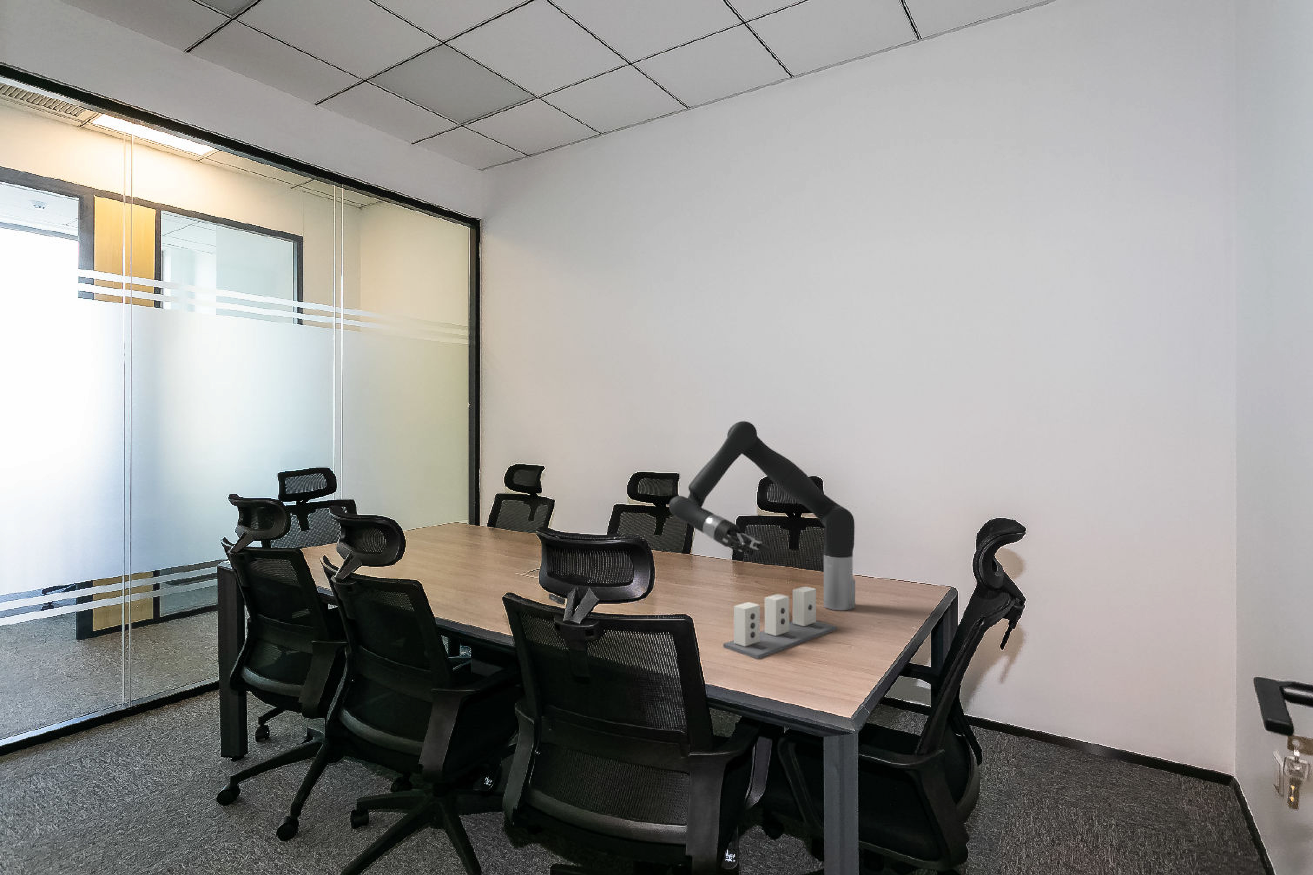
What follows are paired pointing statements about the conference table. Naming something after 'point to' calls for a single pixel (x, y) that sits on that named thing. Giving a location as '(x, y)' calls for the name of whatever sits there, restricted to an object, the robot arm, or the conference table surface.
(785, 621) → the key two dots
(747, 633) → the key three dots
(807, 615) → the key one dot
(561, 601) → the media streaming box
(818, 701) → the conference table surface
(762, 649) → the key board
